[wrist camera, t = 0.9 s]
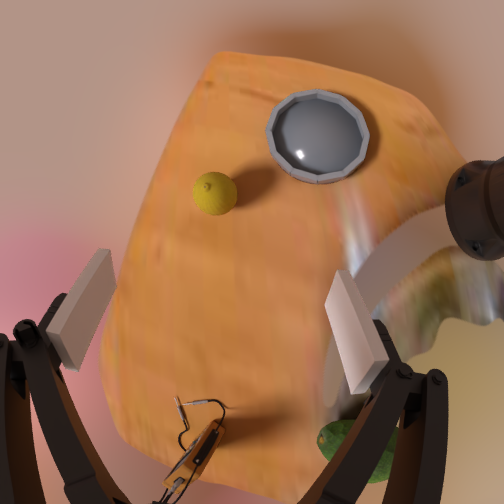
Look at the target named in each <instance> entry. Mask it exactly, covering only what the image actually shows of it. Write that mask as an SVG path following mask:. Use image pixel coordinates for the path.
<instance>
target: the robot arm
mask: <svg viewBox="0 0 504 504" xmlns="http://www.w3.org/2000/svg"><path fill="white" fill-rule="evenodd" d="M445 210H446V217H447V221H448V225H449V228H450V231H451V233H452V235H453V237H454V239H455V241H456V242H457V244H458V245H459V246H460V248H461V249H462V250H463V251H464V252H465V253H466V254H468V255H469V256H471V257H472V258H475V259H477V260H483V261H492V260H497V259H500V258H502V257H504V157H502V158H500V159H498V160H497V161H481V160H480V161H479V160H478V161H472V162H469V163H467V164H465V165H464V166H462V167H461V168H459V169H458V170H457V171H456V172H455V173H454V174H453V175H452V177H451V179H450V181H449V183H448V186H447V190H446V196H445ZM116 287H117V285H116V280H115V275H114V270H113V264H112V258H111V251H110V250H109V249H101V248H99V249H98V250H97V252H96V253H95V254H94V256H93V257H92V259H91V260H90V261H89V263H88V264H87V266H86V267H85V269H84V270H83V272H82V273H81V274H80V276H79V277H78V279H77V281H76V282H75V283H74V285H73V287H72V288H71V290H70V291H69V293H68V294H66V293H61V294H60V295H59V296H57V297H56V298H55V299H54V301H53V302H52V304H51V305H50V307H49V309H48V310H47V312H46V314H45V315H44V317H43V318H42V320H41V322H40V323H39V325H38V327H37V326H36V324H35V322H34V321H32V320H30V319H25V320H22V321H20V322H18V323H17V325H15V328H14V329H13V335H14V337H15V338H16V341H15V340H14V341H9V339H8V337H7V336H6V335H5V334H2V333H0V504H46V501H45V497H44V493H43V489H42V485H41V480H40V476H39V471H38V466H37V461H36V454H35V448H34V440H33V432H32V423H31V412H30V411H31V410H30V393H31V397H32V401H33V404H34V407H35V411H36V414H37V416H38V419H39V423H40V426H41V428H42V431H43V434H44V437H45V439H46V442H47V444H48V447H49V449H50V452H51V454H52V456H53V459H54V461H55V463H56V466H57V468H58V470H59V472H60V474H61V476H62V478H63V480H64V483H65V486H64V492H65V494H66V496H67V498H68V500H69V502H70V503H71V504H131V503H130V501H129V500H128V498H127V497H126V496H125V494H124V493H123V492H122V491H121V490H120V489H119V488H118V486H117V485H116V484H115V482H114V480H113V479H112V477H111V476H110V474H109V472H108V471H107V469H106V467H105V466H104V464H103V462H102V460H101V459H100V457H99V455H98V453H97V452H96V450H95V448H94V446H93V444H92V442H91V440H90V438H89V436H88V434H87V432H86V430H85V428H84V426H83V424H82V422H81V419H80V417H79V415H78V413H77V411H76V408H75V406H74V403H73V401H72V399H71V396H70V394H69V391H68V389H67V386H66V383H65V381H64V378H63V375H62V372H61V370H60V368H59V366H60V364H61V362H62V363H63V365H64V367H65V368H66V369H69V370H72V371H76V372H79V369H80V366H81V364H82V362H83V359H84V357H85V354H86V352H87V350H88V347H89V345H90V343H91V340H92V338H93V336H94V334H95V331H96V329H97V327H98V325H99V322H100V320H101V318H102V316H103V314H104V312H105V310H106V308H107V306H108V304H109V302H110V299H111V297H112V295H113V293H114V291H115V289H116ZM325 308H326V311H327V314H328V317H329V321H330V324H331V327H332V330H333V333H334V337H335V340H336V343H337V347H338V350H339V353H340V357H341V360H342V363H343V367H344V371H345V374H346V378H347V381H348V385H349V388H350V392H351V394H360V393H365V392H366V391H367V389H368V388H369V387H370V389H371V392H372V393H371V394H370V395H369V397H368V398H367V399H366V400H365V401H364V403H363V404H365V405H364V406H363V408H362V410H361V412H360V414H359V415H358V417H357V419H356V421H355V422H354V424H353V426H352V427H351V429H350V431H349V432H348V434H347V436H346V437H345V439H344V440H343V442H342V443H341V445H340V447H339V448H338V450H337V451H336V453H335V454H334V456H333V457H332V459H331V460H330V462H329V463H328V464H327V466H326V467H325V469H324V470H323V472H322V473H321V474H320V476H319V477H318V478H317V480H316V481H315V482H314V484H313V485H312V486H311V488H310V489H309V490H308V492H307V493H306V494H305V495H304V497H303V498H302V499H301V500H300V501H299V502H298V503H297V504H355V503H356V501H357V499H358V497H359V496H360V494H361V493H362V491H363V489H364V488H365V486H366V484H367V483H368V481H369V479H370V477H371V476H372V474H373V472H374V470H375V468H376V466H377V464H378V463H379V461H380V459H381V457H382V455H383V453H384V451H385V449H386V447H387V445H388V442H389V440H390V438H391V436H392V434H393V432H394V429H395V427H396V425H397V422H398V420H399V418H400V423H399V429H398V435H397V441H396V447H395V452H394V457H393V462H392V466H391V471H390V475H389V479H388V484H387V488H386V491H385V495H384V499H383V502H382V504H440V500H441V494H442V488H443V482H444V474H445V465H446V455H447V441H448V381H447V377H446V375H445V374H444V373H443V372H442V371H440V370H438V369H432V370H430V371H429V372H428V373H427V374H421V373H415V372H413V370H412V368H411V367H410V366H409V365H407V364H406V363H403V362H401V359H400V357H399V355H398V353H397V350H396V348H395V346H394V344H393V341H391V340H392V339H391V337H390V335H389V333H388V331H387V329H386V326H385V325H384V324H383V323H382V322H381V321H380V320H372V318H371V316H370V314H369V312H368V310H367V307H366V306H365V303H364V301H363V299H362V297H361V295H360V293H359V291H358V288H357V286H356V284H355V282H354V280H353V278H352V276H351V274H350V272H349V271H347V270H337V271H336V274H335V277H334V280H333V283H332V286H331V289H330V291H329V294H328V297H327V300H326V302H325ZM152 504H168V503H162V502H156V501H153V502H152Z"/></svg>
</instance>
